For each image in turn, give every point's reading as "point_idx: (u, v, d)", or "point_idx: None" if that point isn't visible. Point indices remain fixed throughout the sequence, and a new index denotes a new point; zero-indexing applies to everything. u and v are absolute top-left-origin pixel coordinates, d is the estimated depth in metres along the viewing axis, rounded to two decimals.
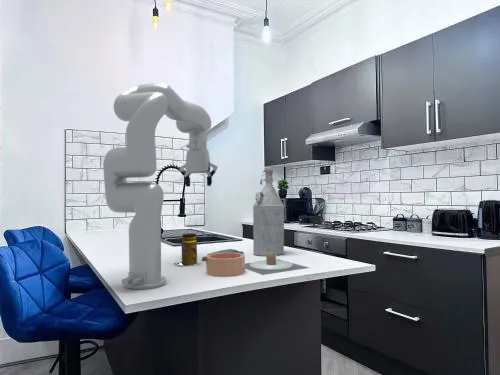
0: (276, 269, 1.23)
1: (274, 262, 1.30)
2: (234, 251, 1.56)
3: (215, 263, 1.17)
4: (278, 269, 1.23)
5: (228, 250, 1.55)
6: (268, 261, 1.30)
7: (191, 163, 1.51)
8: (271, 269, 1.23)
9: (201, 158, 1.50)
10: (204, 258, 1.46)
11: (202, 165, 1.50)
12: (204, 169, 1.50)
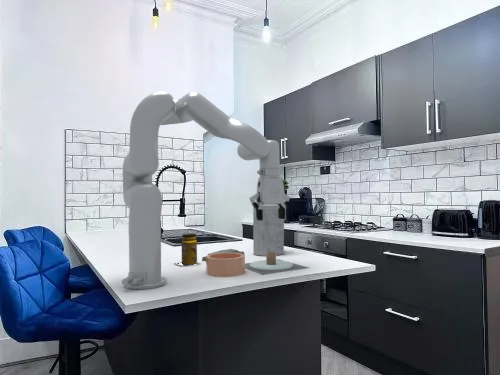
0: (276, 269, 1.23)
1: (274, 262, 1.30)
2: (234, 251, 1.55)
3: (215, 263, 1.17)
4: (278, 269, 1.23)
5: (228, 250, 1.55)
6: (268, 261, 1.30)
7: (269, 193, 1.28)
8: (271, 269, 1.23)
9: (279, 187, 1.31)
10: (204, 258, 1.46)
11: (281, 196, 1.31)
12: (283, 200, 1.31)
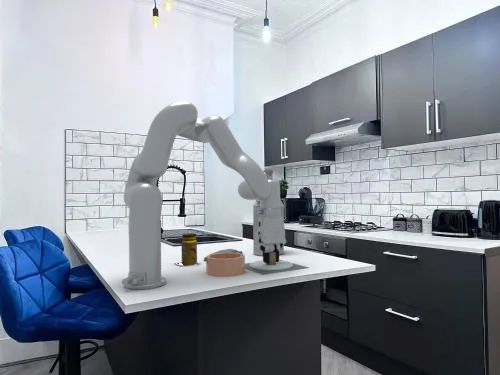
0: (276, 269, 1.23)
1: (274, 262, 1.30)
2: (234, 251, 1.56)
3: (215, 263, 1.17)
4: (278, 269, 1.23)
5: (228, 250, 1.55)
6: None
7: (270, 233, 1.28)
8: (271, 269, 1.23)
9: (280, 227, 1.30)
10: None
11: (281, 235, 1.30)
12: (283, 240, 1.31)
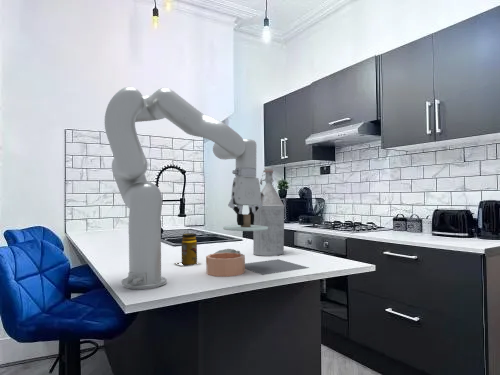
0: (249, 229, 1.19)
1: (248, 224, 1.25)
2: (233, 251, 1.56)
3: (215, 263, 1.17)
4: (251, 229, 1.19)
5: (228, 250, 1.55)
6: None
7: (244, 194, 1.23)
8: (244, 229, 1.19)
9: (255, 189, 1.26)
10: None
11: (256, 197, 1.26)
12: (258, 202, 1.26)
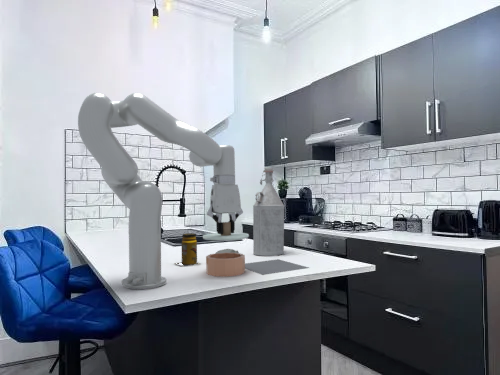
0: (228, 238, 1.15)
1: (228, 233, 1.22)
2: (232, 251, 1.57)
3: (215, 263, 1.17)
4: (230, 238, 1.15)
5: (227, 250, 1.55)
6: None
7: (223, 202, 1.20)
8: (223, 238, 1.15)
9: (235, 196, 1.22)
10: None
11: (236, 204, 1.22)
12: (238, 209, 1.23)
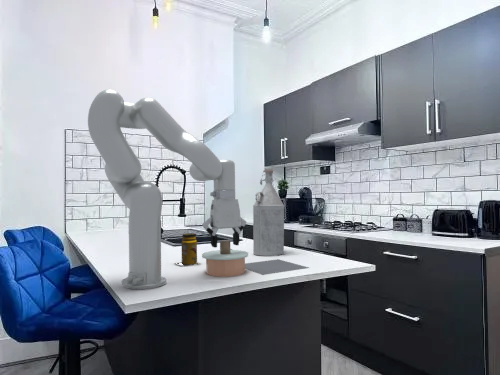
0: (227, 258, 1.15)
1: (228, 251, 1.21)
2: None
3: (215, 263, 1.17)
4: (230, 258, 1.15)
5: None
6: (221, 250, 1.21)
7: (223, 217, 1.20)
8: (222, 258, 1.15)
9: (234, 210, 1.22)
10: None
11: (236, 219, 1.22)
12: (238, 224, 1.22)
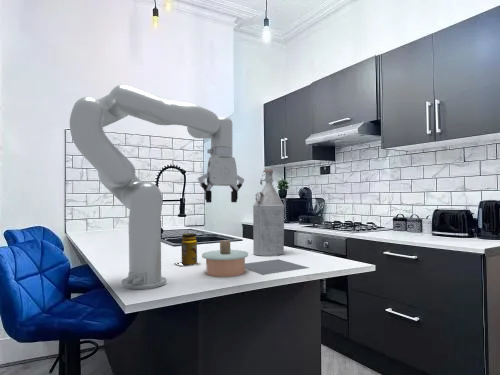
0: (227, 258, 1.15)
1: (228, 251, 1.21)
2: None
3: (215, 263, 1.17)
4: (230, 258, 1.15)
5: None
6: (221, 250, 1.21)
7: (219, 173, 1.20)
8: (222, 258, 1.15)
9: (231, 168, 1.22)
10: None
11: (232, 177, 1.22)
12: (235, 182, 1.23)
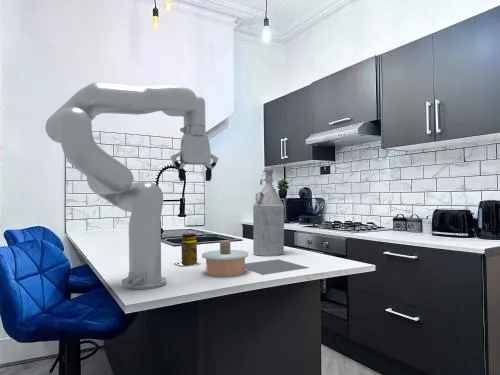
0: (227, 258, 1.15)
1: (228, 251, 1.21)
2: None
3: (215, 263, 1.17)
4: (230, 258, 1.15)
5: None
6: (221, 250, 1.21)
7: (192, 152, 1.20)
8: (222, 258, 1.15)
9: (204, 147, 1.23)
10: None
11: (206, 155, 1.23)
12: (208, 160, 1.23)
